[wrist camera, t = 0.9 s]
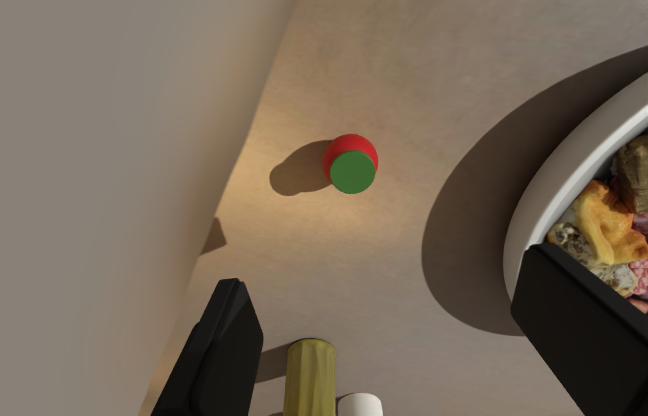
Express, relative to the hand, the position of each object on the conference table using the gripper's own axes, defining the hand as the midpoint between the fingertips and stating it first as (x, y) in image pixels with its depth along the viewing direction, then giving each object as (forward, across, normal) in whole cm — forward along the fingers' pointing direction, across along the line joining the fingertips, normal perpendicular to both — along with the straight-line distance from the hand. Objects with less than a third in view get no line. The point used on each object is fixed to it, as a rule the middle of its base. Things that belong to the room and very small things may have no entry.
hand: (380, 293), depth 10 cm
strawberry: (+14, 0, -1) cm, 15 cm away
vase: (+15, +7, +24) cm, 30 cm away
